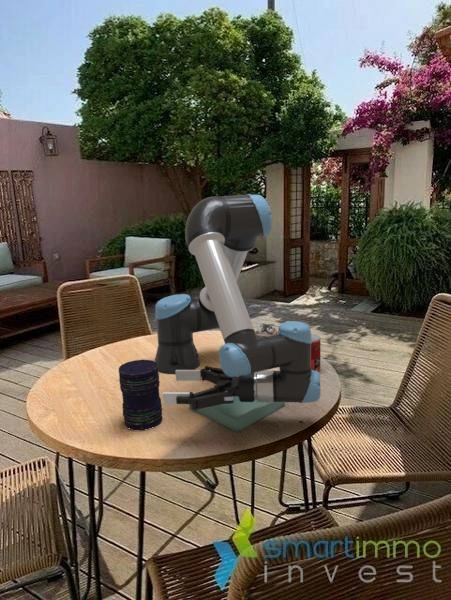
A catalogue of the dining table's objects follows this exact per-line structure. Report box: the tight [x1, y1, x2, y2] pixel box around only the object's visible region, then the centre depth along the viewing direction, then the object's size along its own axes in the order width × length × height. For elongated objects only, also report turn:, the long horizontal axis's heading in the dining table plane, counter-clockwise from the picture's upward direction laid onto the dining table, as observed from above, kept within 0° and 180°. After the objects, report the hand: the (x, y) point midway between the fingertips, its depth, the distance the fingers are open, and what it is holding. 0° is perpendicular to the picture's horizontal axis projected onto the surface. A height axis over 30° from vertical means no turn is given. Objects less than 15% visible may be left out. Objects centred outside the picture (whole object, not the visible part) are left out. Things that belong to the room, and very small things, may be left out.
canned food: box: [311, 333, 322, 373], centre depth 144 cm, size 8×8×11 cm
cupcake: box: [255, 323, 278, 338], centre depth 162 cm, size 10×10×10 cm
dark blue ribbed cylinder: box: [118, 359, 163, 431], centre depth 116 cm, size 10×10×15 cm
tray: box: [188, 396, 286, 433], centre depth 123 cm, size 18×18×3 cm
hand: (169, 386), depth 114 cm, fingers open, 13 cm apart
